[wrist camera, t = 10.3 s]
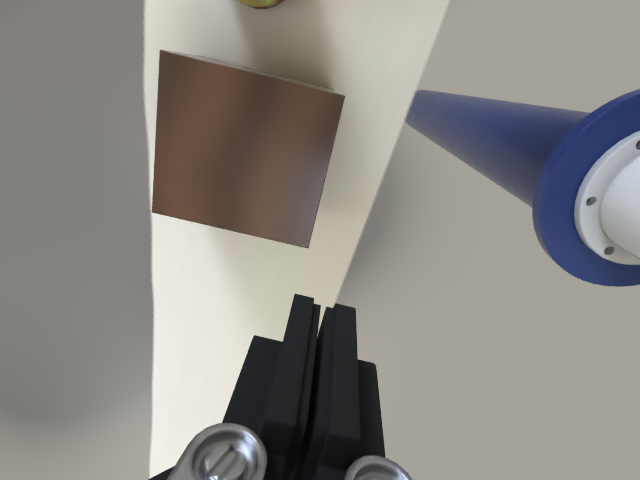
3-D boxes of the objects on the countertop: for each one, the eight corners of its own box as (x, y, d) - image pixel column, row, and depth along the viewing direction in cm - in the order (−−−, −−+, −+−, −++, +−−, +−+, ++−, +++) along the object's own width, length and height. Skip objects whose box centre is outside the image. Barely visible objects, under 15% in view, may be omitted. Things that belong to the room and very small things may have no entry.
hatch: (344, 95, 23) (345, 95, 22) (309, 243, 27) (308, 248, 26) (165, 50, 23) (159, 49, 22) (156, 209, 27) (151, 212, 26)
